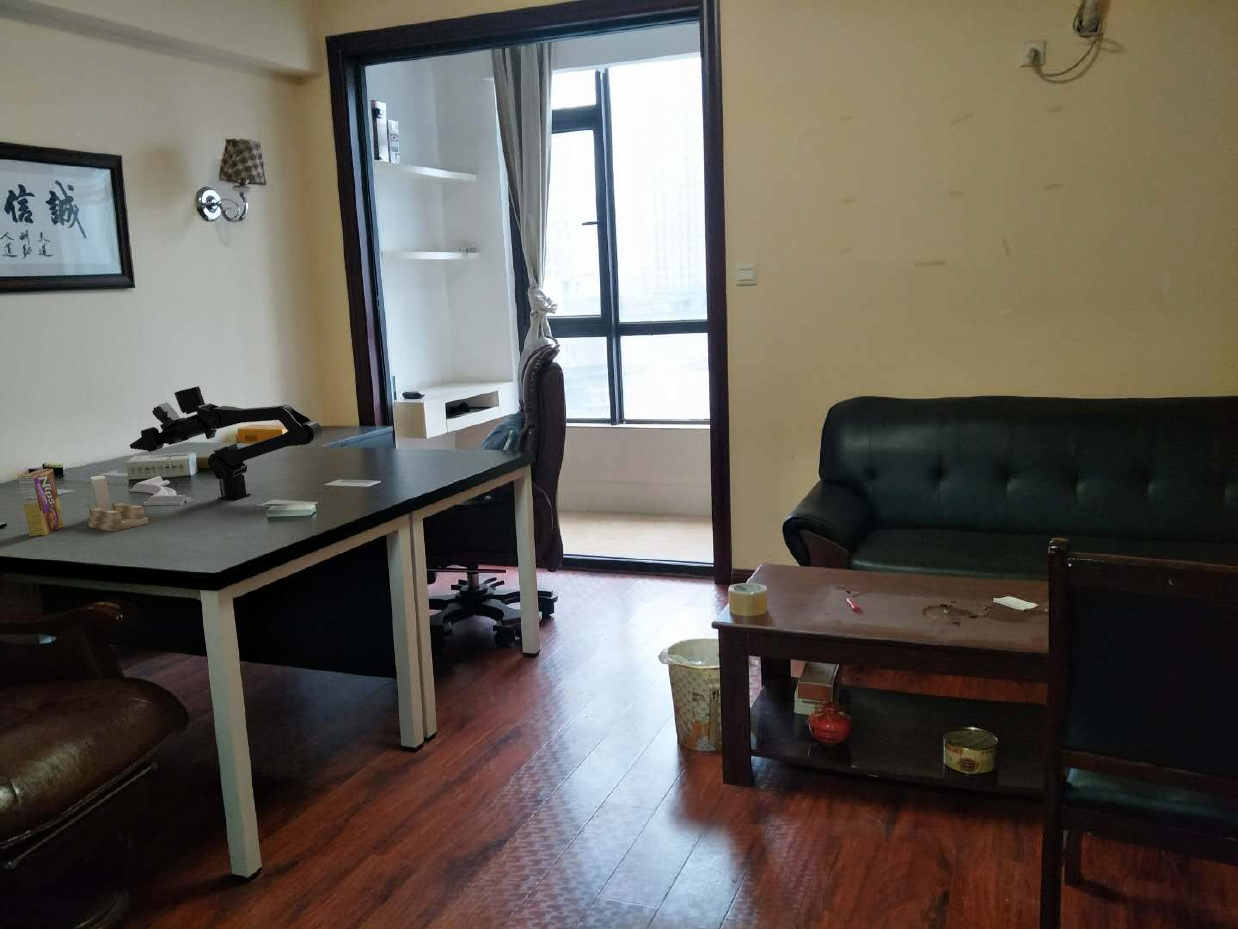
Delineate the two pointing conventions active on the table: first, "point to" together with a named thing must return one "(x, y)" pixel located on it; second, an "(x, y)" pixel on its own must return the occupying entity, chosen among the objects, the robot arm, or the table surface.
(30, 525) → the candy box
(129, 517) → the stand
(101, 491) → the grey upright slab
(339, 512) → the table surface
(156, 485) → the molding
